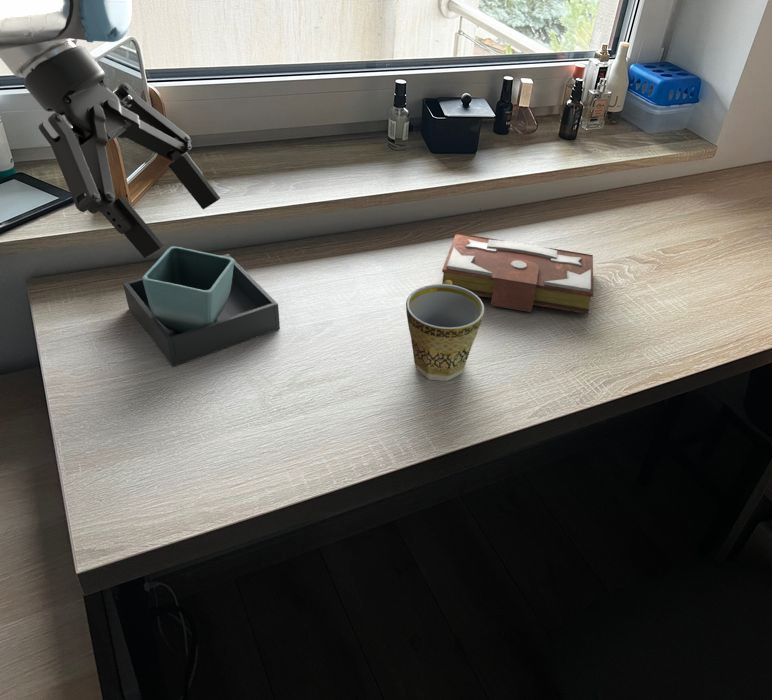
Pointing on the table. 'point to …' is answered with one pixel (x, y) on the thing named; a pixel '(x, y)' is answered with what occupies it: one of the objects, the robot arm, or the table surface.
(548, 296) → the book
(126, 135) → the robot arm
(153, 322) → the tote
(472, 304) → the ceramic cup
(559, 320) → the table surface
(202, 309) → the flower pot
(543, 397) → the table surface
